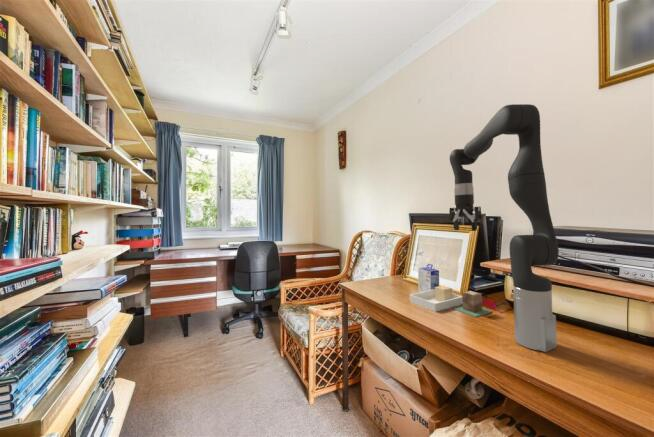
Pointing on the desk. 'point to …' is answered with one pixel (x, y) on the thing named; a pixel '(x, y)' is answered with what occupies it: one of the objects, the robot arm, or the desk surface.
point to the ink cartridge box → (427, 278)
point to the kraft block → (443, 293)
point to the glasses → (490, 302)
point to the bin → (429, 301)
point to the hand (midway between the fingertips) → (465, 230)
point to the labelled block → (472, 301)
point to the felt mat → (484, 311)
